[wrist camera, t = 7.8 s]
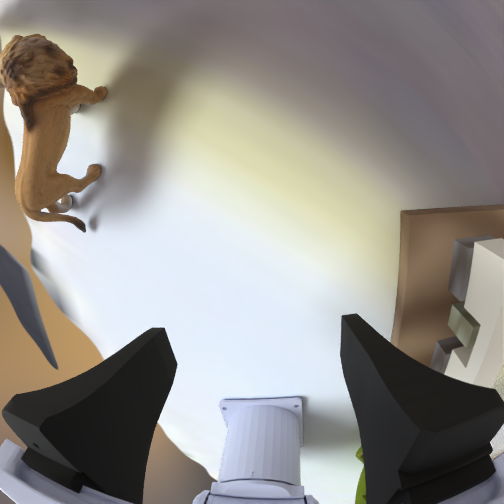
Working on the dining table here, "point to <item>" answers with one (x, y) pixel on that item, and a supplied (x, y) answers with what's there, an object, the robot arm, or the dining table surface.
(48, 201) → the lion figurine
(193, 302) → the dining table surface
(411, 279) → the brown rectangular board
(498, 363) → the cream bar
